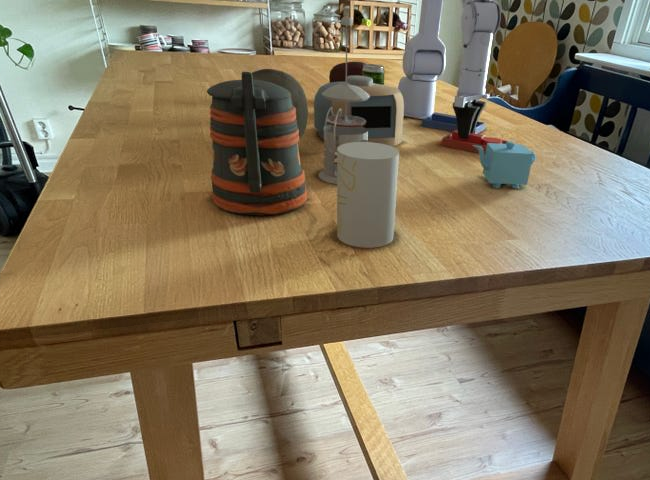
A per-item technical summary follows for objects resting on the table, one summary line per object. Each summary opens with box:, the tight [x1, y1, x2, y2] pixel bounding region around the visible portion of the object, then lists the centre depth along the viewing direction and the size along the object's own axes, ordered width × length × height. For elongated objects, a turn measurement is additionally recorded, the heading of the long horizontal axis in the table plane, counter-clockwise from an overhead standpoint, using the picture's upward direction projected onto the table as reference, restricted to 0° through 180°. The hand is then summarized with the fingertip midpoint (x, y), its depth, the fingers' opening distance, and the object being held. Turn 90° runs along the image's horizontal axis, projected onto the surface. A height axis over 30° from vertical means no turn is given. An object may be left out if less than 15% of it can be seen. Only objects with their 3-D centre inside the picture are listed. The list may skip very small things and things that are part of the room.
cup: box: [336, 142, 400, 249], centre depth 76 cm, size 8×8×12 cm
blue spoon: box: [432, 111, 457, 125], centre depth 137 cm, size 11×4×2 cm, turn 64°
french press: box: [318, 15, 370, 185], centre depth 93 cm, size 10×12×25 cm
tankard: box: [206, 71, 308, 217], centre depth 80 cm, size 19×15×20 cm
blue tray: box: [421, 115, 487, 134], centre depth 137 cm, size 14×8×2 cm, turn 64°
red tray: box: [441, 132, 508, 155], centre depth 124 cm, size 14×8×2 cm, turn 64°
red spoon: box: [451, 130, 503, 146], centre depth 123 cm, size 11×4×2 cm, turn 64°
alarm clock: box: [313, 76, 404, 148], centre depth 121 cm, size 19×20×12 cm
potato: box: [328, 61, 366, 83], centre depth 151 cm, size 11×13×10 cm
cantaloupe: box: [251, 68, 309, 141], centre depth 105 cm, size 14×14×15 cm
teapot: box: [472, 140, 536, 189], centre depth 101 cm, size 12×6×8 cm, turn 94°
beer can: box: [362, 63, 385, 85], centre depth 136 cm, size 5×5×12 cm
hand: (465, 136), depth 124 cm, fingers closed on red spoon, 2 cm apart
